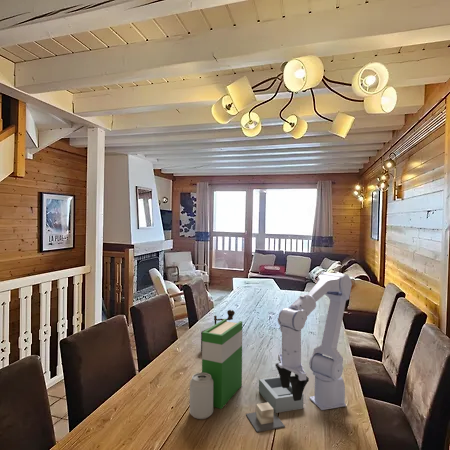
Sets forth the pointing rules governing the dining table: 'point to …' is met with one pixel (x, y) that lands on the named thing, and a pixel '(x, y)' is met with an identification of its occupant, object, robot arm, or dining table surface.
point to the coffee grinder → (230, 317)
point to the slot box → (278, 395)
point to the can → (201, 395)
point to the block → (264, 413)
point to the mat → (264, 427)
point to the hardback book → (223, 359)
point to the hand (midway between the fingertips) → (291, 393)
